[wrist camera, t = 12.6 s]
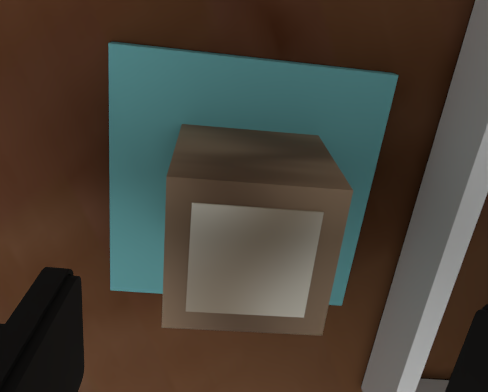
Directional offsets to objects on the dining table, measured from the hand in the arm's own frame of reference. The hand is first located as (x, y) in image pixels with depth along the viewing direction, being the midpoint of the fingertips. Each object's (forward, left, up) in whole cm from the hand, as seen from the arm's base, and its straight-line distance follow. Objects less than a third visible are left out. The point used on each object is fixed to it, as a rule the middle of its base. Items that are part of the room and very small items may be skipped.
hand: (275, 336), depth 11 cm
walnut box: (0, 0, -8) cm, 8 cm away
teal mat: (+1, 0, -8) cm, 8 cm away
